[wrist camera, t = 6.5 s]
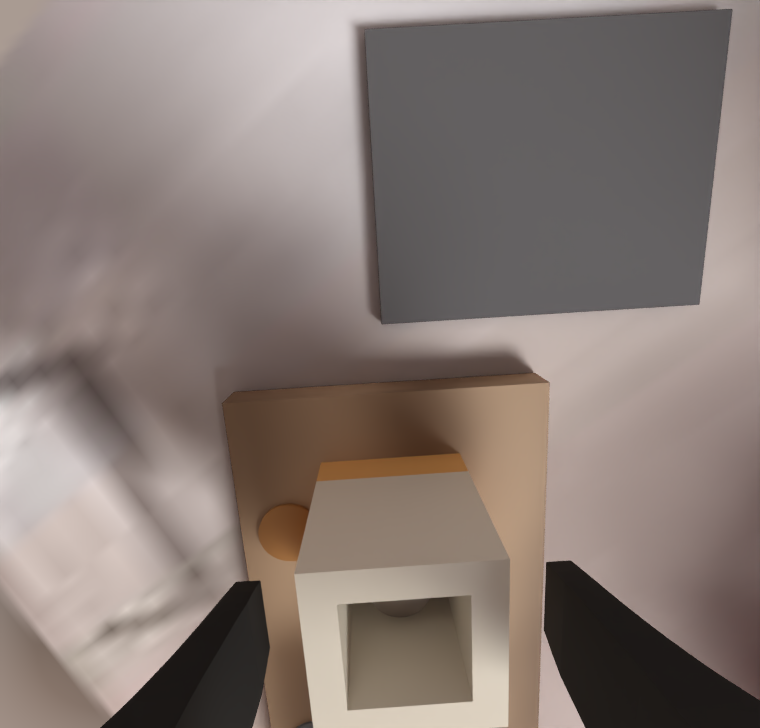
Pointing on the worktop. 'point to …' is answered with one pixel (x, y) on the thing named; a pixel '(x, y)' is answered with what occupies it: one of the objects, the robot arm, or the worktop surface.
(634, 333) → the worktop surface
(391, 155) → the mat
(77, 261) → the worktop surface
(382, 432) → the pin board
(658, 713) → the robot arm
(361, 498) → the cream square sleeve
